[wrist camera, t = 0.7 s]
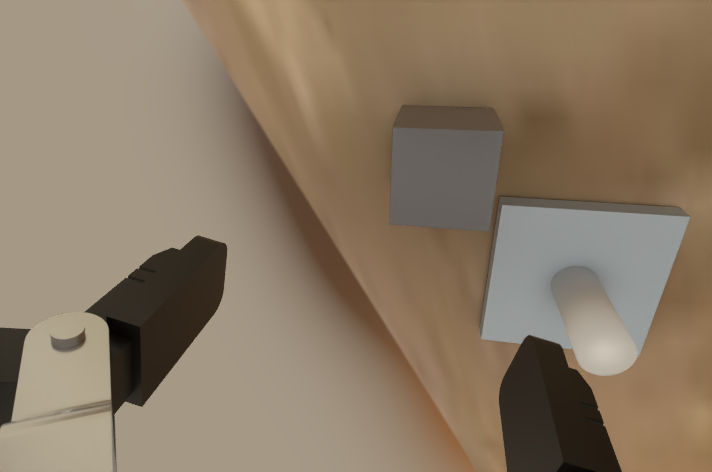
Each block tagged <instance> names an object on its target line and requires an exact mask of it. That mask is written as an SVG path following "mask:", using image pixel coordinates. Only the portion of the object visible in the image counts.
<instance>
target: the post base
mask: <svg viewBox="0 0 712 472" xmlns="http://www.w3.org/2000/svg"><path fill="white" fill-rule="evenodd" d="M689 219H690V216H689V215H688V214H686V213H685V212H684V211H683V210H682V209H681V208H679V207H668V206H651V205H634V204H618V203H601V202H584V201H568V200H551V199H534V198H518V197H501V196H500V198H499V204H498V211H497V218H496V224H495V231H494V237H493V244H492V250H491V257H490V264H489V270H488V277H487V283H486V290H485V297H484V303H483V310H482V316H481V323H480V332H481V339H484V340H493V341H502V342H511V343H521V344H522V342H523V340H524V339H525V337H527V336H528V335H531V336H535V337H538V338H542V339H545V340H548V341H552V342H555V343H558V344H560V345H561V346H562V348H566V349H573V350H574V353H575V355H576V358H577V361H578V363H579V365H580V366H581V367H582V368H583V369H584V370H586V371H587V372H589V373H592V374H595V375H600V376H609V375H615V374H618V373H621V372H623V371H625V370H627V369H628V368H629V367H631V366H632V365H633V363H634V362H635V360H636V358H637V356H639V355H640V352H641V350H642V347H643V344H644V342H645V339H646V336H647V333H648V331H649V328H650V325H651V323H652V320H653V317H654V314H655V312H656V309H657V306H658V304H659V301H660V298H661V295H662V293H663V290H664V287H665V285H666V282H667V279H668V276H669V274H670V271H671V268H672V266H673V263H674V260H675V257H676V255H677V252H678V249H679V247H680V244H681V241H682V238H683V236H684V233H685V230H686V228H687V225H688V222H689Z"/></svg>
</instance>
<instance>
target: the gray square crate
mask: <svg viewBox="0 0 712 472" xmlns="http://www.w3.org/2000/svg"><path fill="white" fill-rule="evenodd" d="M503 134H504V131H503V129H502V126H501V124H500V122H499V120H498V118H497V116H496V114H495V111H494V109H493V108H476V107H442V106H408V105H402V107H401V110H400V112H399V114H398V116H397V119H396V121H395V123H394V125H393V131H392V162H391V192H390V223H389V224H392V225H406V226H420V227H434V228H447V229H461V230H475V231H489V230H490V223H491V217H492V210H493V203H494V196H495V189H496V182H497V176H498V169H499V162H500V155H501V148H502V141H503Z"/></svg>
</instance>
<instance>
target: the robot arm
mask: <svg viewBox="0 0 712 472" xmlns="http://www.w3.org/2000/svg"><path fill="white" fill-rule="evenodd" d="M226 258H227V246H226V244H225V243H221V242H218V241H214V240H211V239H208V238H205V237H201V236H196V237H194V238H193V239H192V240H191V241H190V242H189V243H187V244H186V245H185V246H184V247H183V248H182V249H181V250H178V249H175V248H170V249H168V250H165V251H163V252H160V253H158V254H155V255H153V256H152V257H150V258H149V259H148V260H147V261H146V262H144V263H143V264H142V265H141V266H140V268H139V269H136V270H135V271H134V272H132V273H131V274H130V275H129V276H128V278H125V279H124V280H123V281H121V282H120V283H119V284H118V285H117V286H116V287H114V288H113V289H112V290H111V291H109V292H108V293H107V294H106V295H105V296H103V297H102V298H101V299H100V300H99V301H97V302H96V303H95V304H94V305H93V306H91V307H90V308H89V309H88V310H86V311H85V312H69V313H62V314H58V315H55V316H52V317H49V318H47V319H45V320H43V321H41V322H40V323H38V324H37V325H35V326H34V327H33V328H32V329H14V328H0V472H117V462H116V438H115V416H114V414H115V413H116V412H117V410H118V409H119V408H120V406H122V404H123V403H124V402H125V401H126V402H129V403H132V404H135V405H138V406H141V407H142V406H143V405H144V404H145V402H146V401H147V400H148V399H149V397H150V396H151V395H152V393H153V392H154V391H155V390H156V388H157V387H158V386H159V384H160V383H161V382H162V380H163V379H164V378H165V376H166V375H167V374H168V373H169V371H170V370H171V369H172V368H173V366H174V365H175V364H176V363H177V361H178V360H179V359H180V357H181V356H182V355H183V353H184V352H185V351H186V349H187V348H188V347H189V346H190V344H191V343H192V342H193V340H194V339H195V338H196V337H197V335H198V334H199V333H200V332H201V330H202V329H203V328H204V326H205V325H206V324H207V323H208V321H209V320H210V318H211V317H212V316H213V315H214V313H215V312H216V310H217V309H218V307H219V304H220V302H221V299H222V295H223V290H224V280H225V269H226ZM499 406H500V414H501V423H502V431H503V439H504V448H505V456H506V465H507V472H622V471H621V469H620V466H619V463H618V460H617V458H616V455H615V452H614V449H613V447H612V444H611V441H610V438H609V436H608V433H607V430H606V427H605V426H603V423H604V422H603V419H602V416H601V414H600V411H598V410H597V409H598V406H597V403H596V400H595V397H594V395H593V392H592V389H591V388H590V386H589V385H588V384H587V382H586V381H585V380H584V379H583V377H582V376H581V375H580V373H579V372H578V371H577V370H575V369H571V368H569V367H568V364H567V361H566V358H565V355H564V352H563V349H562V346H561V345H560V344H558V343H555V342H552V341H548V340H545V339H542V338H538V337H535V336H531V335H528V336H527V337H525V339H524V340H523V342H522V344H521V346H520V347H519V349H518V351H517V353H516V355H515V357H514V359H513V361H512V362H511V364H510V366H509V368H508V370H507V372H506V374H505V376H504V378H503V380H502V383H501V387H500V392H499Z"/></svg>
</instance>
